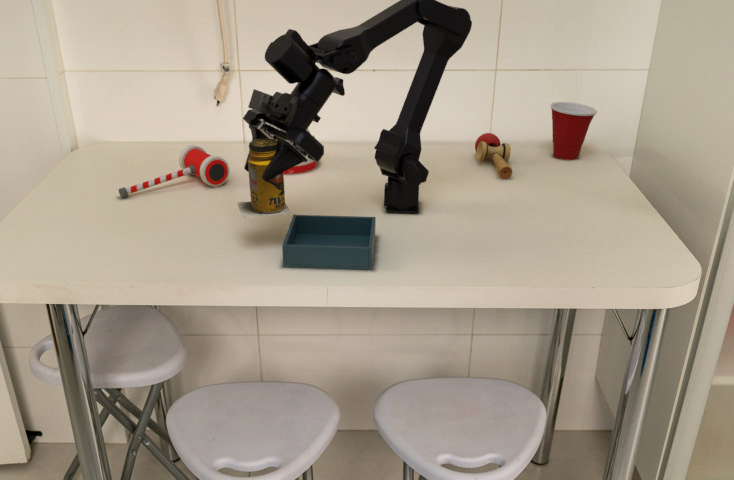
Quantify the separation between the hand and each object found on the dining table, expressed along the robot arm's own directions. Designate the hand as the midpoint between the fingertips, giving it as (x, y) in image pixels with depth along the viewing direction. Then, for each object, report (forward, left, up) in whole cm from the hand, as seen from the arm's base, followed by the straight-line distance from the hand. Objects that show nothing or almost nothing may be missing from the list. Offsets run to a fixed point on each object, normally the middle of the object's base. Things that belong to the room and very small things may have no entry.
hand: (254, 175), depth 135 cm
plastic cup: (-65, -58, -13) cm, 88 cm away
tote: (-13, +2, -13) cm, 19 cm away
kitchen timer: (+1, -47, -13) cm, 49 cm away
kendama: (-47, -49, -13) cm, 69 cm away
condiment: (-1, -1, -7) cm, 7 cm away
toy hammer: (+22, -31, -13) cm, 40 cm away
